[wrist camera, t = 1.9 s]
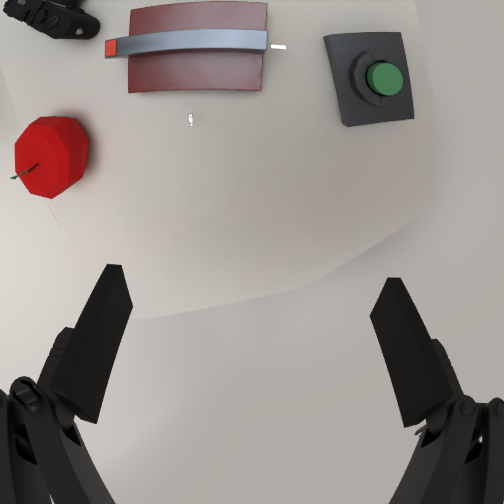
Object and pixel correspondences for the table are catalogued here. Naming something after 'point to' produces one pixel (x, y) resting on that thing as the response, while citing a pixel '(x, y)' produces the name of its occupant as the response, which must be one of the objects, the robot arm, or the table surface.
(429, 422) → the robot arm
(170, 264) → the table surface
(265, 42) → the red-tipped grey slab
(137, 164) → the table surface
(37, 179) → the apple
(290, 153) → the table surface
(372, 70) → the green push button
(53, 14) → the camera
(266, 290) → the table surface
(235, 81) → the red rectangular box
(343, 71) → the control block
